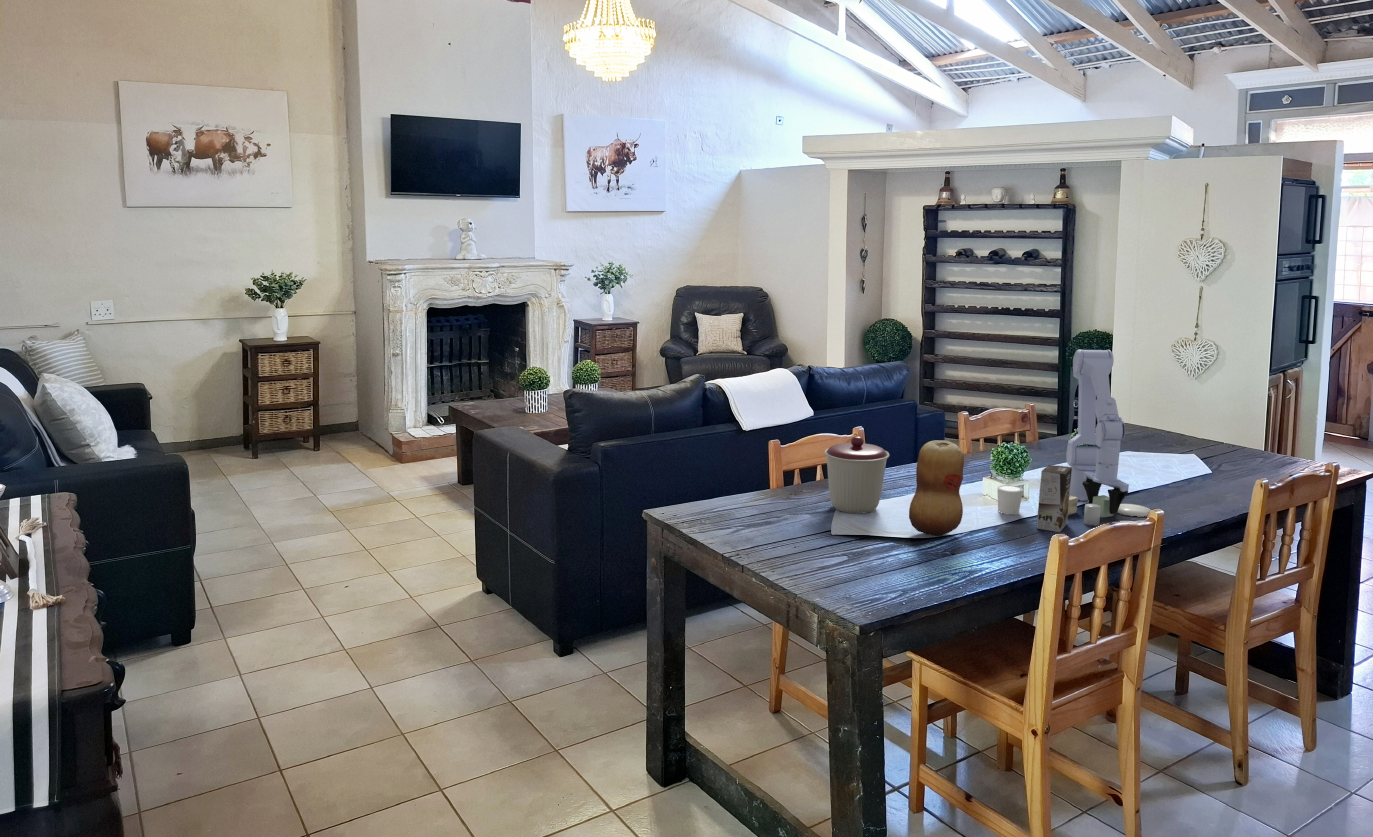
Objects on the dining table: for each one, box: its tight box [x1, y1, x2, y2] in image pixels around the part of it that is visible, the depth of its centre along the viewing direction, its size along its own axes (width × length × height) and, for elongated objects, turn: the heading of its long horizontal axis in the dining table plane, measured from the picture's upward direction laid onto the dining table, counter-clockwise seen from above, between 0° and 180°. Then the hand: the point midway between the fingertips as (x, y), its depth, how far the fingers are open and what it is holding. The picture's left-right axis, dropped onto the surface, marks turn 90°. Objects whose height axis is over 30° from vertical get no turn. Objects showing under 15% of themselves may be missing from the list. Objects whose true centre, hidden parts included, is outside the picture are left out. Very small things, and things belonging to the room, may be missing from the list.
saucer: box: [1116, 503, 1152, 518], centre depth 288 cm, size 10×10×1 cm
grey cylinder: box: [1083, 503, 1101, 527], centre depth 277 cm, size 4×4×5 cm
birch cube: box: [1068, 496, 1079, 516], centre depth 287 cm, size 4×4×4 cm
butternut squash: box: [908, 439, 965, 537], centre depth 264 cm, size 14×13×25 cm
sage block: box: [1093, 494, 1114, 518], centre depth 285 cm, size 4×4×5 cm
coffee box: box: [1036, 464, 1072, 533], centre depth 273 cm, size 9×6×16 cm
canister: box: [824, 435, 890, 514], centre depth 287 cm, size 18×18×21 cm
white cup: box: [997, 484, 1024, 515], centre depth 287 cm, size 7×7×7 cm
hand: (1102, 509), depth 285 cm, fingers open, 7 cm apart
